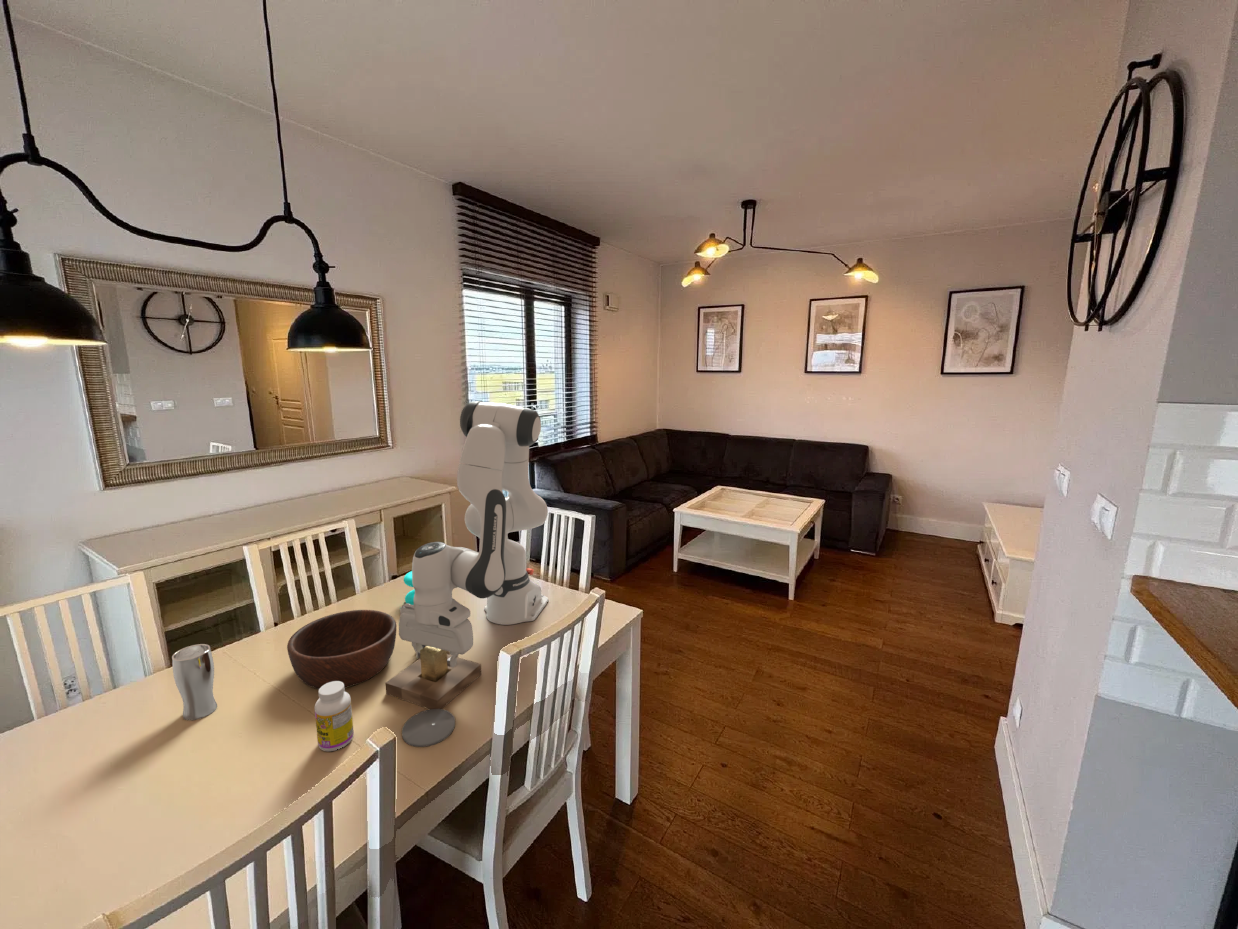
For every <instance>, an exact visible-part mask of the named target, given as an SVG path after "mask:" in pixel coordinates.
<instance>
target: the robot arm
mask: <svg viewBox="0 0 1238 929" xmlns="http://www.w3.org/2000/svg"><path fill="white" fill-rule="evenodd" d="M459 418H460V419H459V426H460V429H461V432H462V434H463V435H464V436H465V437H466V438H465V441H464V444H463V445H462V446H463V447H462V451H461V453H460V458H459V461H458V462H459V463H458V467H457V474H456V484H457V485H456V486H457V489H458V491H459V493H460V494H461V496H463V498H464V499H465V500H466V501H468V502H469V503H470V505H468V506H467V509H466V511H465V512H464V513H465V514H464V523H465V527H466V528H467V530H468V531H469V533H471V535H473V536H476V537H478V539H479V546H478V547H479V548H478V549H479V551H476V550H473V549H471V548H466V547H464V546H463V547H462V546H453V545H448V544H446V543H445V542H443V541H442V542H441V541H434V542H427V543H425V544H423V545H421V546H419V547H418V548H417V549H416V550H415V552H414V554H413V557H412V562H411V563H412V564H411V571H412V583H413V587H412V588H413V590H414V589H415V595H414V605H411V604H408V603H406V602H405V603H403V605H402V606H401V607H400V608H399V611H400V615H399V620H398V636H399V638H400V639H401V640H402V641H406V642H410V643H411V646H412V648H413V650H414V651H415V654H416V655H415V656H416V659H418V660H419V659H420V650H421V649H423V647H422V645H425V646H429V647H433V648H437V649H441V650H445V651H447V652H449V655H452V657H450V658H449V659H448V660H447V663H448V664H447V666H450V667H454V666H455V665H456V663H457V660H456V658H457V657H459V655H461V656H463V655H465V654H466V653H468V651H470V650H471V649H472V648H473V645H474V631H473V630H474V629H473V625H472V622H471V620H470V619H468V618H470V617H471V610H470V608H468V607H467V606H465V605H463V604H462V603H460V602H459V601H458V600H456V599H454V598H453V590H455V589H457V588H459V589H461V590H464V591H466V592H468V593H469V594H471V595H473V596H474V597H476V598H478V599H486V605H484V612H486V619H487V620H488V621H489V622H491V623H493V624H496V625H505V626H507V625H516V624H519V623H524V622H525V623H526V622H532V621H535V620H536V619H537V618H538V616H539V615H540V614H541V612H542V611H543V609H544V608H545V607H546V605H547V604H548V603H549V597H547V596H546V595H544V594H542V587H541V585H540V584H538V583H537V582H535V581H534V580H532V579H530V576H533V575H534V568H529V567H527V551H526V548H525V547H524V546H523V545H522V544H521V543H519V542H517V541H514V540H512V539H509V537H508V534H509V533H513V532H520V531H527V530H531V529H534V528H537V527H540V526H542V525H544V524H545V523H546V521H547V519H548V516H549V515H548V514H549V511H548V506H547V503H546V501H545V500H544V499H543V498H542V496H540V495H538V494H537V493H536V492H535V491H534V489H532V487H531V484H530V479H529V476H530V475H529V460H530V447H531V446H532V445H534V444H535V443H537V441H538V439H539V437H540V434H541V430H542V423H541V421H542V420H541V417H540V415H539V413H538V411H536V410H534V409H531V408H528V407H521V406H517V405H514V404H508V403H505V402H504V403H498V402H487V401H486V402H484V401H482V400H481V401H480V400H479V401H477V400H475V401H469V402H468V403H467V404H466V405H465V406H464V407H463V408H462V409H461V413H460V417H459ZM504 491H505V492H508V494H507V496H505V495H504V493H503V492H504ZM529 575H530V576H529ZM547 602H548V603H547Z"/></svg>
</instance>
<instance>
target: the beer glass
mask: <svg viewBox="0 0 1238 929" xmlns="http://www.w3.org/2000/svg"><path fill="white" fill-rule="evenodd" d="M213 657H214V656H213V653H212V651H211V645H209V644H207V643H206V644H205V643H200V644H199V643H198V644H192V645H190V646H189V645H188V646H185V647H183V648H181V649H179V650H177V651H176V652H174V653H173V654H172V656H171V659H172V673H173V675H172V676H173V679H174V682H175V683H174V684H175V686H176V689H177V690H178V693H179V694H180V697H181V699H182V703H183V704H182V706H183V709H182V710H183V711H182V718H183V719H184V720H185V721H195V720H200V719H203V718H206V717H208V716H209V715H211V714H212V713H214V712H215V711H216V709H217V708H218V703H217V701H216V699H215V696H214V692H213V690H214V679H215V663H214V658H213Z"/></svg>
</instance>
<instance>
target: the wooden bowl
mask: <svg viewBox="0 0 1238 929" xmlns="http://www.w3.org/2000/svg"><path fill="white" fill-rule="evenodd" d="M396 636H397V622H396V620H395V618H394V617H393V616H392V615H391V614H389V613H386V612H383V611H380V610H374V609H355V610H354V609H353V610H347V611H342V612H336V613H331V614H329V615H326V616H323V617H320V618H317V619H315V620H312V621H311V622H308V623H307V624H305V625H304V626H302V627H301V628H299V629H297V631H296V632H294V633H293V634H292V636H290V638H289V640H288V642H287V646H286V649H287V654H288V658H289V661H290V664H291V667H292V669H293V671H294V673H295V674H296V675H295V676H297V678H299V680H301V681H302V683H303V684H305V685H306V686H309V687H311V688H313V689H318V690H319V689H320V688H321V687H322V686H323V685H325V684H326V683H329V682H333V681H341V682H343V683H344V688H350V687H352V686H356V685H359V684H361V683H364V682H366V681H368V680H369V679H372V678H373V677H375V676H376V675H377V674H378V673H380V672H381V671H382V670H383V669H384V668H385V667H386V666H387V664H388V663H389V661H390V660H391V658H392V655H393V653H394V649H395V644H396Z"/></svg>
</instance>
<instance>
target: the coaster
mask: <svg viewBox="0 0 1238 929" xmlns="http://www.w3.org/2000/svg"><path fill="white" fill-rule="evenodd" d="M455 727H456V718H455V716H454V715H453V713H452V712H451V711H449V710H446V709H443V708H442V709H426V710H423V711H420V712H418V713H417V712H416V714H414V715H413V716H410V717H409V719H407V720H406V722H405V723H404V724H403V725H402V728H401V729H402V730H401V737H402V740H403V742H405V743H406V744H407V745H409V746H411V747H415V748H425V747H430V746H434V745H437V744H439V743H442V741H445V740H446V739H447V738H448V737H449V736H450V735H452V733H453V731H454V729H455Z"/></svg>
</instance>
